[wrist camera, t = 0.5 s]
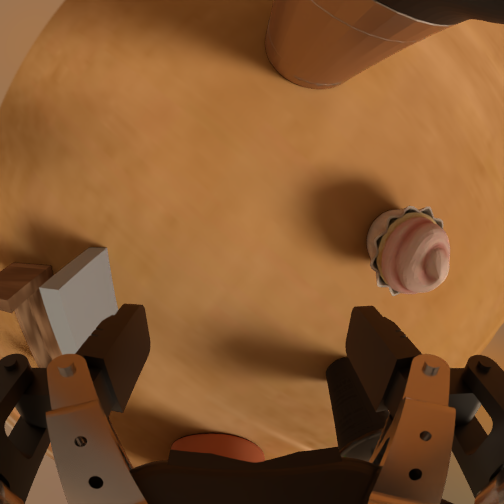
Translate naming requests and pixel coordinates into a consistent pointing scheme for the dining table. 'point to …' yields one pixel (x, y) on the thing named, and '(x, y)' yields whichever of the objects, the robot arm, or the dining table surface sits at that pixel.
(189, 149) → the dining table surface
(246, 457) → the potted cactus
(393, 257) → the cupcake
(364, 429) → the drinking cup
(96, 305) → the gray rectangular slab
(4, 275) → the wooden card holder
